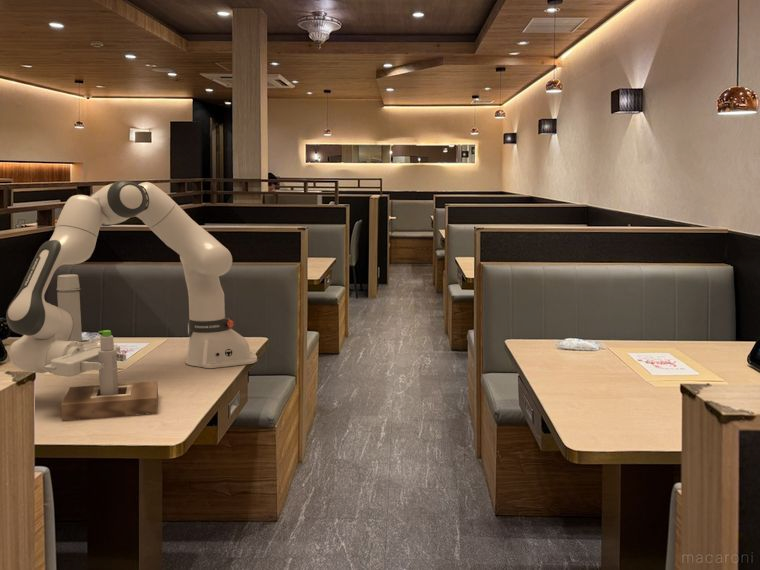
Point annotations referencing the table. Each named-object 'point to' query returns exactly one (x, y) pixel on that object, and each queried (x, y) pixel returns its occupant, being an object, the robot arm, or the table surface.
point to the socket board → (110, 401)
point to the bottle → (108, 365)
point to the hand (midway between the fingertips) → (113, 361)
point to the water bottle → (70, 302)
